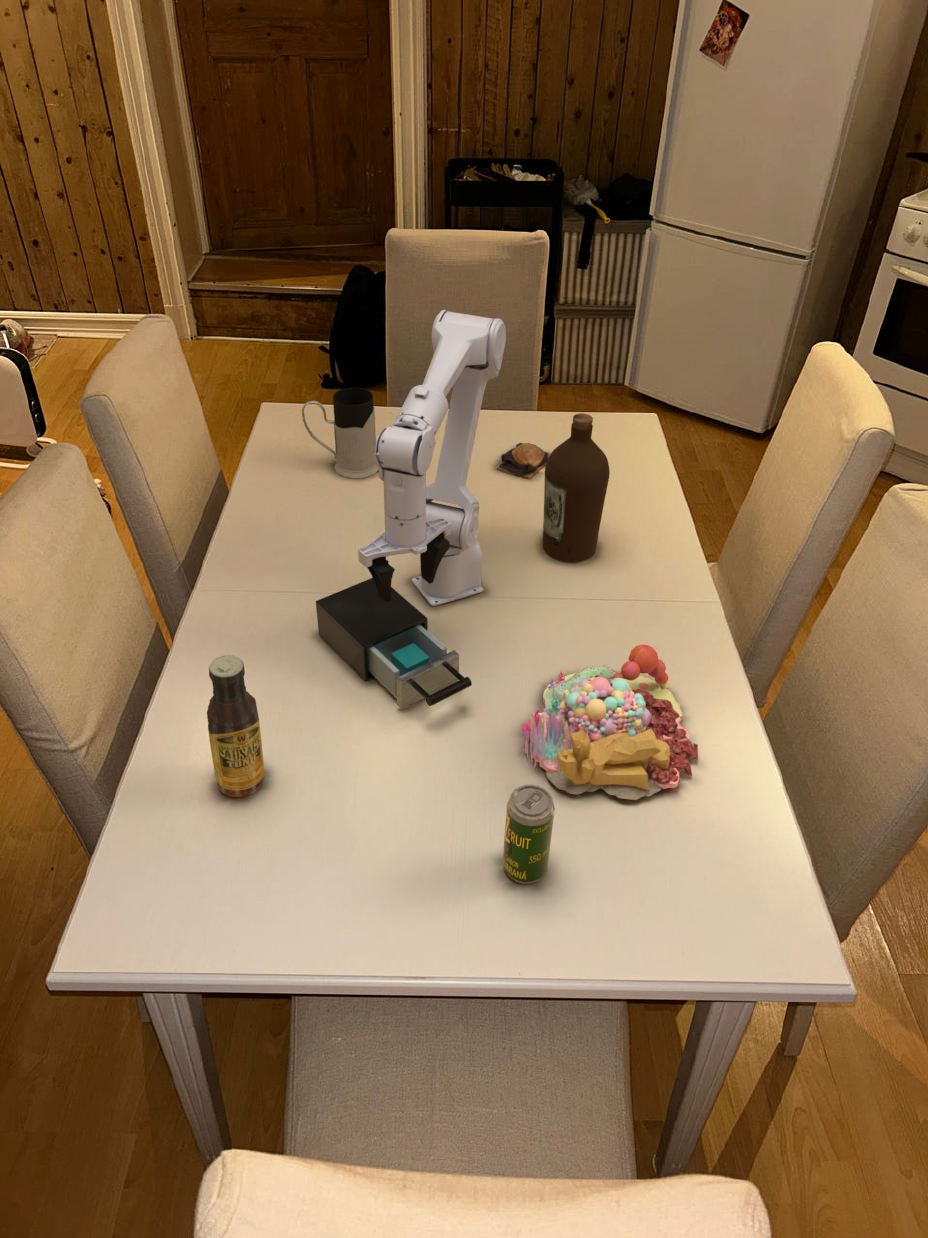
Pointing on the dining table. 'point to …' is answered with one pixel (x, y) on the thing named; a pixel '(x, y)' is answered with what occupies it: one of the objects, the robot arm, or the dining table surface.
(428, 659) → the block
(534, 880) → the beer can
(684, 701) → the dining table surface
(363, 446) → the glass holder
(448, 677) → the drawer
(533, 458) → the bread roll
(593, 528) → the olive oil
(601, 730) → the candy landscape model
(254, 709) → the sauce bottle
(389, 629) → the black storage box
